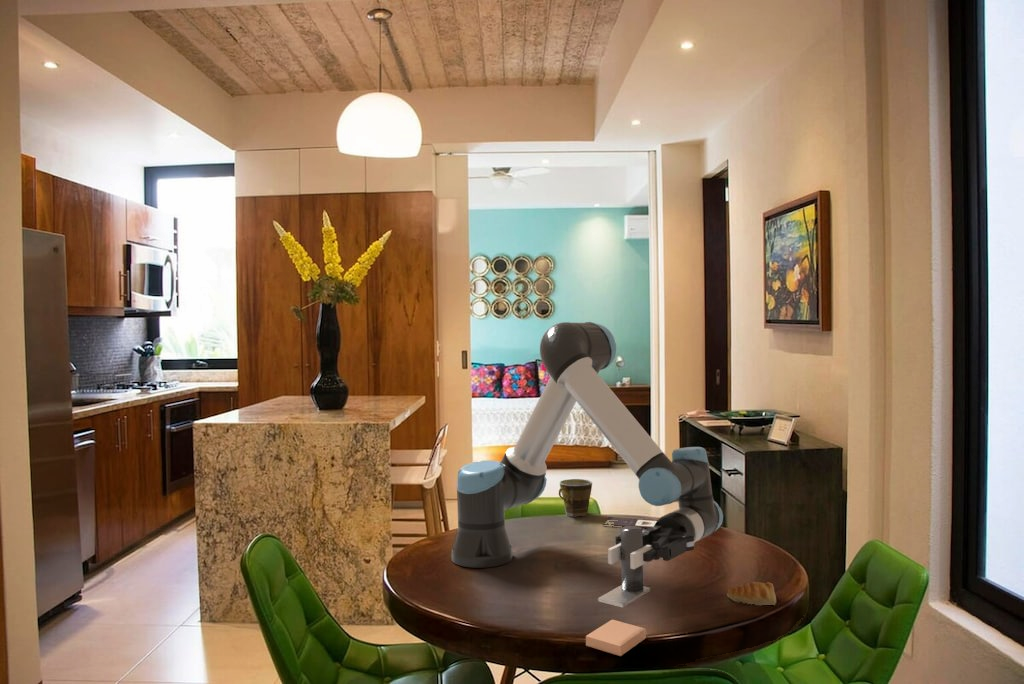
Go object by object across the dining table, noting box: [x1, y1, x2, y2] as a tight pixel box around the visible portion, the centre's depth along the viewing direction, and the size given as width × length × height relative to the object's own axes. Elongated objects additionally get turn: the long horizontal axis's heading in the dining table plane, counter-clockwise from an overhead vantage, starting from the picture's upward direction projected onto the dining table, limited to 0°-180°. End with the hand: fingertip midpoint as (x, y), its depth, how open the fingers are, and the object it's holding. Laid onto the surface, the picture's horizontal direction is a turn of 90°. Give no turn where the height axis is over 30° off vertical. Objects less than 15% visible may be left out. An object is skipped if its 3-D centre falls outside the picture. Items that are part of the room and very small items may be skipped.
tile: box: [585, 619, 647, 657], centre depth 125 cm, size 7×2×9 cm
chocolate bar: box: [602, 516, 658, 530], centre depth 203 cm, size 9×1×18 cm
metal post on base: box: [597, 526, 651, 608], centre depth 128 cm, size 5×10×12 cm, turn 141°
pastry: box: [726, 581, 777, 606], centre depth 144 cm, size 9×7×4 cm
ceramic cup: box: [558, 478, 593, 518], centre depth 214 cm, size 13×10×10 cm
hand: (621, 558), depth 127 cm, fingers closed on metal post on base, 4 cm apart
